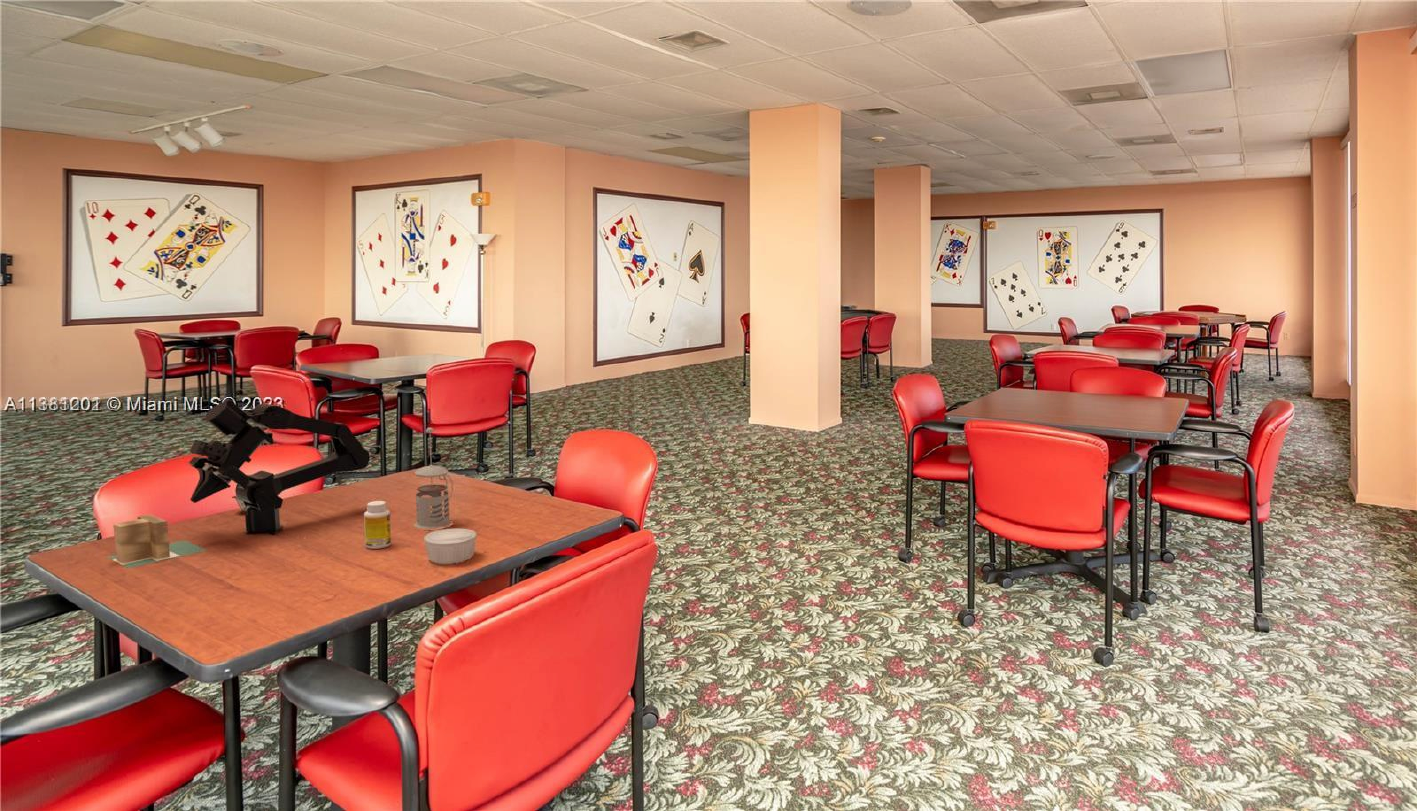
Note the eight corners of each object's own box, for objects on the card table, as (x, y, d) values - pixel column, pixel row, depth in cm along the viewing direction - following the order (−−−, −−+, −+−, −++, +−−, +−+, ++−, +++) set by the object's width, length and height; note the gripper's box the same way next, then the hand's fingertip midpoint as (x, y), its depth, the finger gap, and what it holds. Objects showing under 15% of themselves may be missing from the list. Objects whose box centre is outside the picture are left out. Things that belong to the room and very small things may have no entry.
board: (184, 542, 195) (184, 540, 195) (207, 552, 188) (207, 549, 188) (106, 558, 183) (106, 556, 183) (128, 570, 176) (128, 567, 176)
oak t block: (153, 548, 189) (150, 514, 188) (169, 556, 183) (167, 521, 182) (111, 557, 182) (108, 521, 181) (128, 565, 177) (124, 529, 176)
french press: (404, 528, 208) (400, 429, 205) (435, 516, 219) (432, 422, 215) (436, 532, 205) (432, 431, 201) (466, 520, 215) (463, 424, 212)
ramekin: (448, 569, 178) (447, 545, 177) (413, 560, 184) (412, 537, 183) (488, 556, 187) (487, 533, 187) (453, 547, 193) (452, 525, 192)
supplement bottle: (392, 547, 192) (390, 504, 191) (366, 550, 190) (364, 507, 189) (390, 541, 197) (388, 498, 196) (364, 544, 195) (362, 501, 193)
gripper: (195, 422, 198) (145, 475, 190) (232, 430, 187) (181, 487, 179) (232, 450, 205) (185, 502, 198) (269, 460, 194) (221, 515, 187)
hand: (192, 501), depth 190 cm, fingers closed
